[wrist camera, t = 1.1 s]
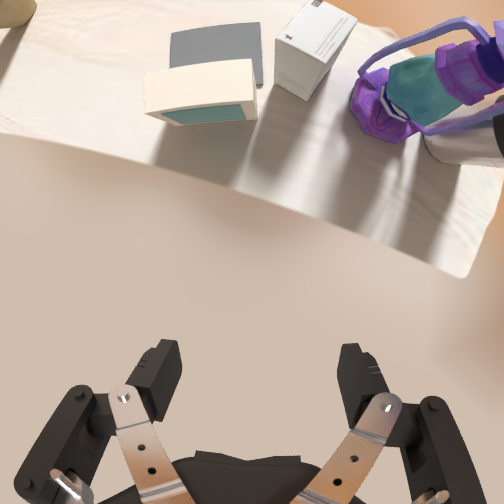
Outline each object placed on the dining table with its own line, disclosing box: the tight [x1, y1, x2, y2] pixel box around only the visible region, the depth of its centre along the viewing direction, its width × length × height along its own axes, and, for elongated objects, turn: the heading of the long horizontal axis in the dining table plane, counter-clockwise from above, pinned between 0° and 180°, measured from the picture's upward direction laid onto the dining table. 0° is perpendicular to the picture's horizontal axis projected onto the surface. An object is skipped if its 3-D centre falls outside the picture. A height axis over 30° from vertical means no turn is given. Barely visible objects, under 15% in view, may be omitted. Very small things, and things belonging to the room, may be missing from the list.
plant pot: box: [0, 0, 37, 29], centre depth 20 cm, size 15×15×16 cm
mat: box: [170, 22, 263, 85], centre depth 33 cm, size 14×11×1 cm
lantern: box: [350, 16, 504, 143], centre depth 20 cm, size 13×12×30 cm
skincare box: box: [274, 0, 358, 101], centre depth 27 cm, size 8×6×15 cm
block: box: [144, 59, 258, 126], centre depth 31 cm, size 12×5×12 cm, turn 92°
